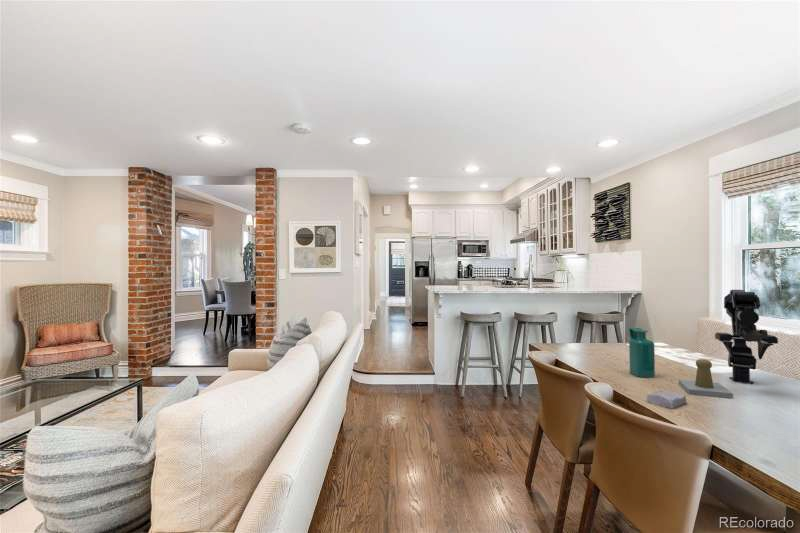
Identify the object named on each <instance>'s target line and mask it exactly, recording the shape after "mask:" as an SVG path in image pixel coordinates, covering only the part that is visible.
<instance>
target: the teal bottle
mask: <svg viewBox="0 0 800 533" xmlns="http://www.w3.org/2000/svg"><path fill="white" fill-rule="evenodd" d="M628 331H629V332H628V333H629V338H630V340H629V341H628V346H629V347H628V350H629V351H628V352H629V355H628V357H629V358H628V359H629V373H630V374H631V375H634V376H635V377H638V378H654V377H656V368H655V367H656V365H655V364H656V360H655V359H656V358H655V357H656V356H655V353H656V352H655V342H654V341H653V340H652V339H651V340H650V339H648V338H647V333H649V330H647V329H642V328H641V327H629V329H628Z"/></svg>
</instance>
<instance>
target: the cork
mask: <svg viewBox="0 0 800 533" xmlns="http://www.w3.org/2000/svg"><path fill="white" fill-rule="evenodd" d="M695 365H696V367H697V368H696V377H695V380H694V381H695V385H696V386H698V387H702V388H714V387H713V383H714V382H713V376H712V371H711V369H712V366H713V364H712V362H711V361H710V360H708V359H704V358H702V359H701V358H699V359H696V361H695Z"/></svg>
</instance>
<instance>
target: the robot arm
mask: <svg viewBox="0 0 800 533" xmlns="http://www.w3.org/2000/svg"><path fill="white" fill-rule="evenodd" d="M760 308H761V301H760V297H759V296H758V294H756V293H755V292H754V291H745V290H743V289H730V291H729V293H728V294H727V295H726V296H724V299H723V309H725V311H726V315H728V317H730V318H731V329H732V331H731V332H732V334H731V333H728V332H718V331H717V332H716V333H715V334H714V339H716V340H717V341H719V342H721V343H723V345H724V346H725V348H726V350H727V352H728V357H727V365H728V367H729V368H732V376H729V377H728V378H729V379H730V380H732V381H734V383H744V384H755V382H754V381H752V380H751V370H756V369H757V360H762V359H763V356H764V355H765V353H766V351H767V349H768V348H769V347H770V346H774V345H775V344H776V345H777V344H779V339H778V337H777V336H775V335H772V334H768V331H767V330H766V329H757V325H756V324H757V322H759V319H760V316H759V314H758V313H757V312H756V311H755V309H756V310H757V309H758V310H760ZM732 340H733V341H732ZM747 342H748V343H749V342H755V343H757V356H758V359H757V358H756V357H755V355H753V351H752V347H749V346H748V345H747Z"/></svg>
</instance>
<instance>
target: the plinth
mask: <svg viewBox="0 0 800 533" xmlns="http://www.w3.org/2000/svg"><path fill="white" fill-rule="evenodd" d="M695 381H696V380H689V379H688V380H687V379H678V386H680V388H682V390H684V391H685V392H686V393H687V394H688V395H694V396H695V395H696V396H703V397H713V396H714V397H716V398H723V397H724V399H727V398H728V399H734V393H733V392H732V391H731V390H729V389H728V388H726V387H725V386H723V385H722V384H720V383H719V382H713V387H714V388H702V387H698V386H696V385H695ZM714 397H713V398H714Z"/></svg>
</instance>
